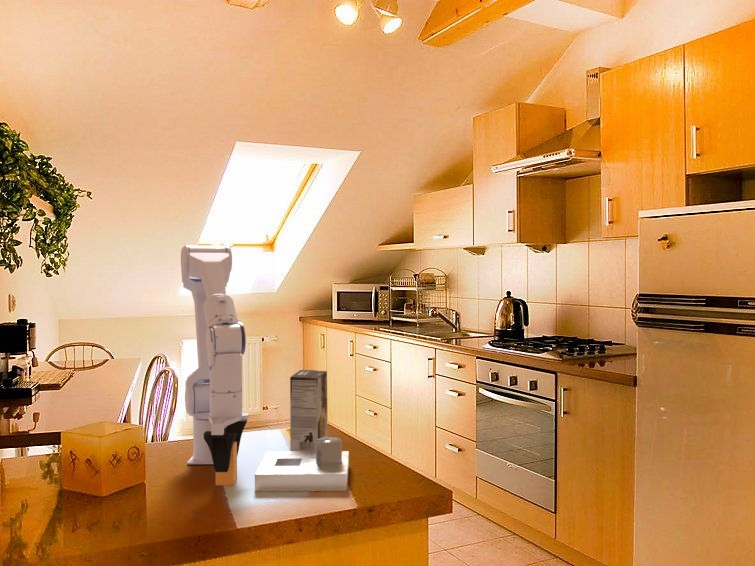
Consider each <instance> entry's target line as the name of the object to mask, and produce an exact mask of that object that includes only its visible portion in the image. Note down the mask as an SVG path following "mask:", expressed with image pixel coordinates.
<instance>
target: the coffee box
mask: <svg viewBox="0 0 755 566" xmlns="http://www.w3.org/2000/svg"><path fill="white" fill-rule="evenodd" d="M327 372H328V371H327V370H313V369H300V370H298V371H297V372H295V373H294V374H292V375H291V376H290V377H289V381H290V382H289V383H290V384H289V385H290V386H289V387H290V389H289V390H290V391H289V394H290V399H289V400H290V401H289V404H290V409H289V411H290V414H289V415H290V418H289V419H290V423H289V425H290V426H289V427H290V428H289V430H290V432H289V433H290V435H289V436H290V439H289V440H290V441H289V443H290V446H289V447H290V448H289V449H290V451H316V440H317V439H319V438H324V437H328V379H327V378H328V377H327V376H328V373H327Z"/></svg>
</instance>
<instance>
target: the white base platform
mask: <svg viewBox="0 0 755 566" xmlns="http://www.w3.org/2000/svg"><path fill="white" fill-rule="evenodd" d="M342 443H343V440H342V438H339V437H335V436H334V437H332V436H327V437H324V438H319V439H317V440H316V451H289V450H287V451H283V450H282V451H280V450H279V451H273V450H271V451H270V450H268V451H266V453H265V454H264V456H263V459H262V460H261V462H260V464H259V466H258V467H257V470H256V472H255V474H254V492H348V491H347V490H348V482H349V481H348V479H349V467H350V462H349V461H350V459H349V458H350V457H349V456H350V453H349V452H350V451H348V450H343V444H342Z"/></svg>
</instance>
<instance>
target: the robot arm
mask: <svg viewBox="0 0 755 566" xmlns="http://www.w3.org/2000/svg"><path fill="white" fill-rule="evenodd" d="M180 268H181V269H180V270H181V271H180V272H181V283H182V284H183V285H182V286H183V288H184V289H186V290H188V291H190V292H191V295H192V299H193V303H194V304H193V305H194V317H195V333H196V347H197V348H196V351H197V364H198V366H197V367H198V368H196V369H195V370H194V371H193V372H192V373H190V374H189V375H188V376H187V378H186V380H185V390H184V391H185V392H184V403H185V411H186V414H187V415H189V416H190V417H192V441H193V444H192V445H193V447H192V448H193V449H192V450H193V454H192V455H191V457H190V459H188V460H187V462H186V464H187V465H213V468H214V471H215V473H216V472H227V471H228V469H229V465H230V457H231V451H232V446H233V443H234V442H237V456H238V455H239V450H240V444H241V439H242V436H243V432H244V429H245V427H246V425H247V423H248V419H249V418H250V414H249V413H248V412H246V413H244V412H243V355H245V353H246V348H247V347H246V346H247V335H246V328H245V325H244V323H242V321H241V320H240V319H238V316H237V312H236V311H237V310H236V308H235V301H234V300H233V298H232V297H231V296H230V295H227V293H226V292H227V291H226V287H227V285H228V283H229V280H230V275H231V272H232V268H233V254H232V250H231V248H230V247H229V246H228V245H224V246H223V245H221V246H219V245H216V246H215V245H187V244H184V245H183V246H182V247H181V251H180Z"/></svg>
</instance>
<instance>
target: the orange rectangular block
mask: <svg viewBox="0 0 755 566" xmlns="http://www.w3.org/2000/svg"><path fill="white" fill-rule="evenodd" d="M237 480H238V455H237V442H234V443H233V446H232V451H231V457H230V465H229V469H228V471H227V472H216V471H215V486H234V485H235V484H236V482H237Z"/></svg>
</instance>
